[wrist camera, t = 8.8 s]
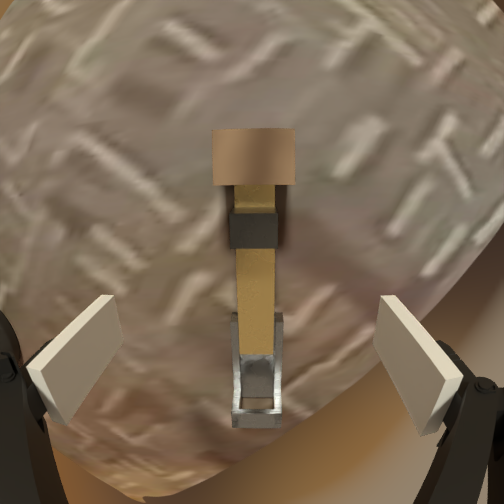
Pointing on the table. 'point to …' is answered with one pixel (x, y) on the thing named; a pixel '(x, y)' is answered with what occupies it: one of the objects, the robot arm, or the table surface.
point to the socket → (253, 156)
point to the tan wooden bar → (255, 264)
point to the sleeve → (257, 379)
